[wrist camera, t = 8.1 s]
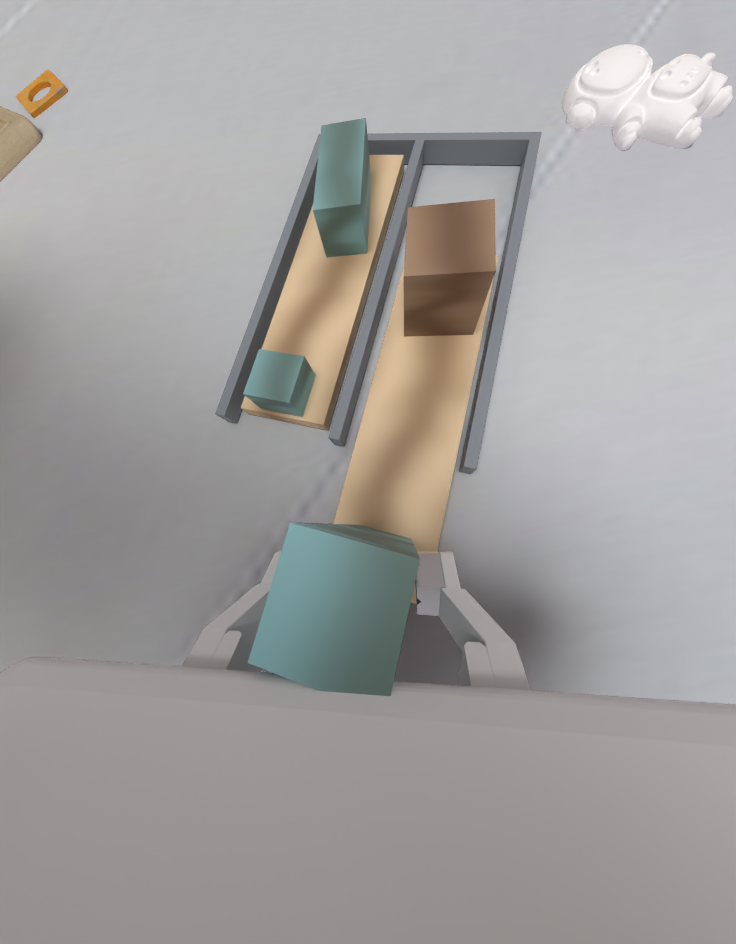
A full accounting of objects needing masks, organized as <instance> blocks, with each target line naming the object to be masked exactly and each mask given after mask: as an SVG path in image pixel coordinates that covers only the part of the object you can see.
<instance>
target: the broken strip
mask: <svg viewBox="0 0 736 944" xmlns="http://www.w3.org/2000/svg"><path fill="white" fill-rule="evenodd" d="M403 174H404V155H369V147H368V136H367V126H366V118H363V119H357V120H352V121H346V122H340V123H335V124H329V125H323V126H322V127H321V136H320V146H319V155H318V164H317V174H316V183H315V192H314V202H313V206H312V208H311V211H310V214H309V217H308V220H307V222H306V225H305V228H304V231H303V234H302V237H301V239H300V242H299V245H298V248H297V251H296V253H295V256H294V259H293V262H292V265H291V268H290V270H289V273H288V276H287V279H286V282H285V284H284V287H283V290H282V293H281V296H280V298H279V301H278V304H277V307H276V310H275V313H274V315H273V318H272V321H271V324H270V327H269V329H268V332H267V335H266V338H265V341H264V344H263V346H262V349H259V351H258V353H257V356H256V359H255V362H254V365H253V367H252V370H251V373H250V376H249V379H248V381H247V384H246V387H245V390H244V393H243V394H244V395H245V397H244V400H243V403H242V405H241V409H243V410H244V411H246V412H247V413H248V414H251V415H256V416H260V417H265V418H270V419H275V420H280V421H285V422H290V423H295V424H299V425H304V426H309V427H314V428H319V429H324V430H328V429H329V426H330V422H331V419H332V415H333V412H334V409H335V405H336V402H337V398H338V395H339V392H340V388H341V385H342V381H343V378H344V375H345V371H346V368H347V364H348V361H349V358H350V354H351V351H352V347H353V344H354V341H355V337H356V334H357V330H358V327H359V323H360V320H361V317H362V313H363V310H364V306H365V303H366V300H367V296H368V293H369V289H370V286H371V283H372V279H373V276H374V272H375V269H376V266H377V262H378V259H379V255H380V252H381V249H382V245H383V242H384V238H385V235H386V231H387V228H388V225H389V221H390V218H391V214H392V211H393V208H394V204H395V201H396V197H397V194H398V191H399V187H400V184H401V180H402V177H403Z"/></svg>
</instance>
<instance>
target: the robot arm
mask: <svg viewBox="0 0 736 944" xmlns="http://www.w3.org/2000/svg"><path fill="white" fill-rule="evenodd" d="M417 553H418V555H419V557H420V562H419V567H418V571H417V576H416V581H415V588H416V605H417V615H432V616H439V618H440V619H441V621H442V622H443V624H444V625H445V627H446V628H447V630H448V631H449V633H450V634H451V636H452V637H453V639H454V640H455V642H456V643H457V645H458V646H459V648H460V649H461V651H462V652H463V654H462V659H461V663H460V668H459V673H458V682H459V685H446V684H431V683H416V682H402V681H394V683H393V687H392V692H391V696H379V695H366V694H353V693H340V692H327V691H318V690H315V689H312V688H310V687H307V686H305V685H302V684H300V683H297V682H295V681H292V680H290V679H287V678H285V677H282V676H280V675H277V674H275V673H270V672H260V671H261V669H262V668H260V667H257V666H255V665H252V664H250V663H248V660H249V657H250V653H251V650H252V647H253V643H254V640H255V637H256V633H257V630H258V627H259V623H260V620H261V617H262V613H263V610H264V607H265V603H266V600H267V597H268V593H269V590H270V587H271V584H272V580H273V577H274V574H275V570H276V567H277V564H278V560H279V557H280V554H281V551H277V552H276V553H275V554H274V556H273V558H272V560H271V562H270V564H269V566H268V569H267V571H266V573H265V575H264V577H263V579H262V581H261V583H260V584H256V585H255V586H254V587H253V588H252V589H250V590H249V591H248V592H247V593H246V594H244V595H243V596H242V597H241V598H240V599H238V600H237V601H236V602H235V603H234V604H232V605H231V606H230V607H229V608H228V609H226V610H225V611H224V612H223V613H222V614H220V615H219V616H218V617H217V618H216V619H214V620H213V621H212V622H211V623H210V624H208V625H207V626H206V627H205V628H204V629H203V631H202V632H201V634H200V636H199V638H198V639H197V641H196V643H195V644H194V646H193V648H192V650H191V651H190V653H189V655H188V656H187V658H186V660H185V662H184V663H183V665H182V666H167V665H153V664H138V663H123V662H108V661H94V660H79V659H64V658H51V657H31V658H27V659H24V660H22V661H20V662H18V663H16V664H14V665H12V666H10V667H8V668H7V669H5V670H3V671H1V672H0V944H736V704H722V703H708V702H693V701H679V700H664V699H650V698H635V697H620V696H606V695H591V694H577V693H562V692H548V691H533V690H531V688H530V685H529V682H528V679H527V676H526V673H525V670H524V668H523V665H522V662H521V659H520V656H519V653H518V650H517V647H516V644H515V642H514V641H513V640H512V639H511V638H510V637H509V636H508V635H507V634H506V633H505V631H504V630H503V629H502V628H501V627H500V626H499V625H498V624H497V623H496V622H495V621H494V620H493V619H492V617H491V616H490V615H489V614H488V613H487V612H486V611H485V610H484V609H483V608H482V607H481V606H480V605H479V603H478V602H477V601H476V600H475V599H474V598H473V597H472V596H471V595H470V594H469V593H468V592H467V591H466V589H461V587H460V582H459V578H458V573H457V569H456V564H455V559H454V555H453V553H452V552H439V551H417Z"/></svg>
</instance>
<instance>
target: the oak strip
mask: <svg viewBox="0 0 736 944" xmlns="http://www.w3.org/2000/svg"><path fill="white" fill-rule="evenodd" d="M497 260H498V256H496V264H497ZM493 279H494V277H493ZM492 284H493V280H492V283H491V286H490V289H489V291H488V294H487V297H486V300H485V303H484V306H483V308H482V311H481V314H480V317H479V320H478V323H477V325H476V328H475V331H474V334H473V335H448V336H409V337H404V267H403V271H402V274H401V278H400V282H399V285H398V289H397V293H396V296H395V300H394V304H393V307H392V311H391V315H390V318H389V322H388V325H387V329H386V333H385V336H384V340H383V344H382V347H381V351H380V355H379V358H378V362H377V366H376V369H375V373H374V377H373V380H372V384H371V388H370V391H369V395H368V399H367V402H366V406H365V410H364V413H363V417H362V421H361V424H360V428H359V431H358V435H357V439H356V442H355V446H354V450H353V453H352V457H351V461H350V464H349V468H348V472H347V475H346V479H345V483H344V486H343V490H342V494H341V497H340V501H339V505H338V508H337V512H336V516H335V519H334V523H333V524H322V523H291V522H290V524H289V527H288V530H287V534H286V537H285V540H284V544H283V547H282V550H281V554H280V557H279V560H278V564H277V567H276V570H275V574H274V577H273V580H272V584H271V587H270V590H269V593H268V597H267V600H266V603H265V607H264V610H263V613H262V617H261V620H260V623H259V627H258V630H257V633H256V637H255V640H254V643H253V647H252V650H251V653H250V657H249V660H248V663H250V664H252V665H255V666H257V667H260V668H262V669H265V670H267V671H270V672H272V673H275V674H277V675H280V676H282V677H285V678H287V679H290V680H292V681H295V682H297V683H300V684H302V685H305V686H307V687H310V688H312V689H315V690H318V691H327V692H340V693H353V694H366V695H379V696H391V692H392V687H393V683H394V678H395V673H396V669H397V664H398V659H399V655H400V650H401V645H402V641H403V636H404V632H405V627H406V622H407V618H408V613H409V608H410V604H411V603H413V604H416V588H415V581H416V576H417V571H418V567H419V562H420V557H419V555H418V553H417V551H437V550H438V545H439V540H440V535H441V530H442V526H443V521H444V516H445V511H446V506H447V501H448V497H449V492H450V487H451V482H452V477H453V472H454V468H455V463H456V458H457V453H458V448H459V443H460V439H461V434H462V429H463V424H464V419H465V414H466V410H467V405H468V400H469V395H470V390H471V385H472V381H473V376H474V371H475V366H476V361H477V356H478V351H479V347H480V342H481V337H482V332H483V327H484V322H485V318H486V313H487V308H488V303H489V298H490V293H491V289H492Z"/></svg>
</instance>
